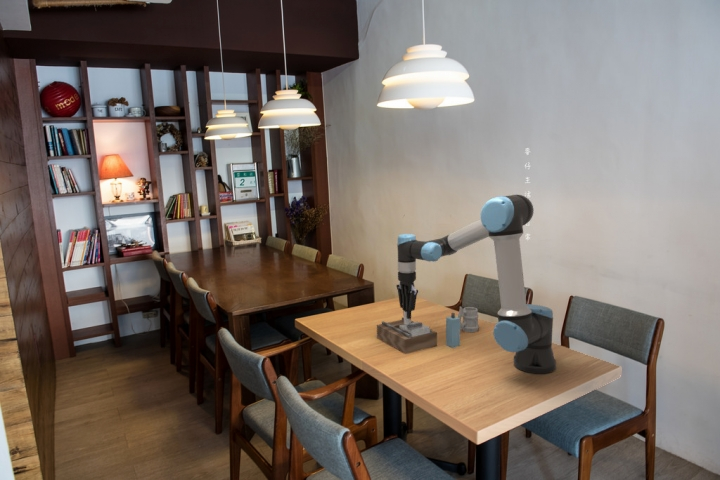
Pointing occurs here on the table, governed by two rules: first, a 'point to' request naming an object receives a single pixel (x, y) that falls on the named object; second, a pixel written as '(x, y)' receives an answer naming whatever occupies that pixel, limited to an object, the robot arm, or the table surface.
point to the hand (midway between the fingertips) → (407, 325)
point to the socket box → (405, 337)
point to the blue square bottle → (452, 331)
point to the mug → (469, 319)
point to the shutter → (415, 328)
